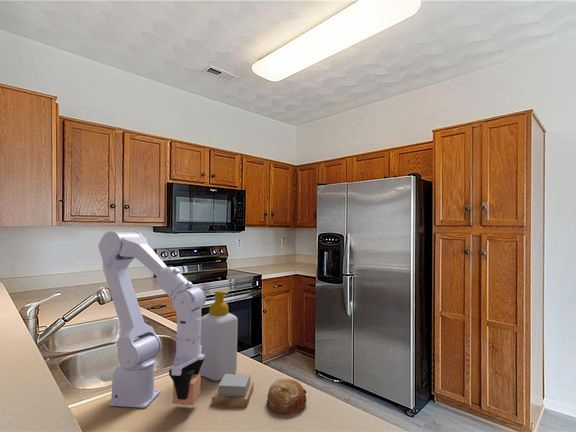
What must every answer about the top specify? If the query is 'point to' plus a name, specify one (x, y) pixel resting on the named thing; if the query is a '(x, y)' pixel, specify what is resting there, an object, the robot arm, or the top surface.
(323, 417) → the top surface
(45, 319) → the top surface
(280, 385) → the bread roll
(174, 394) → the terracotta cube
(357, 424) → the top surface
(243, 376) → the grey slab
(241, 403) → the walnut slab
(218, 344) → the soap bottle
